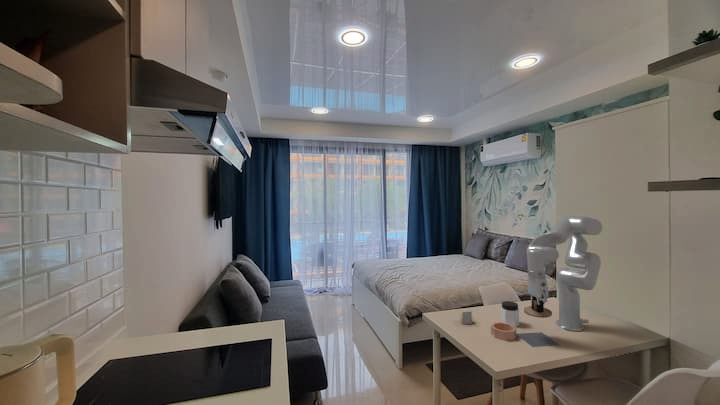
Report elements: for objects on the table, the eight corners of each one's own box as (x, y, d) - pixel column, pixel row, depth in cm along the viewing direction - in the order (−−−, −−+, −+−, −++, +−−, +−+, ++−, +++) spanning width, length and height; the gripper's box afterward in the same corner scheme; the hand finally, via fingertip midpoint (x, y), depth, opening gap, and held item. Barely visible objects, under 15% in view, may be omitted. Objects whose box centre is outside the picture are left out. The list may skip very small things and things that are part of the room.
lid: (541, 307, 159) (540, 295, 159) (557, 316, 147) (557, 304, 147) (518, 309, 158) (518, 297, 158) (534, 318, 146) (533, 306, 146)
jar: (512, 329, 165) (512, 307, 165) (498, 324, 172) (498, 303, 172) (521, 325, 170) (521, 303, 170) (507, 320, 177) (507, 299, 177)
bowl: (508, 331, 164) (507, 321, 163) (520, 340, 153) (520, 330, 152) (487, 332, 163) (487, 323, 163) (498, 342, 152) (498, 332, 152)
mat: (541, 333, 160) (541, 332, 160) (560, 346, 146) (560, 345, 146) (515, 334, 159) (515, 333, 159) (532, 348, 145) (532, 346, 145)
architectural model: (459, 322, 177) (459, 309, 177) (471, 322, 178) (470, 309, 178) (462, 325, 174) (461, 312, 174) (473, 324, 174) (473, 311, 174)
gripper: (555, 277, 144) (556, 316, 145) (533, 269, 161) (534, 304, 161) (540, 278, 144) (541, 317, 144) (519, 270, 160) (520, 305, 161)
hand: (537, 310), depth 153 cm, fingers closed on lid, 3 cm apart
